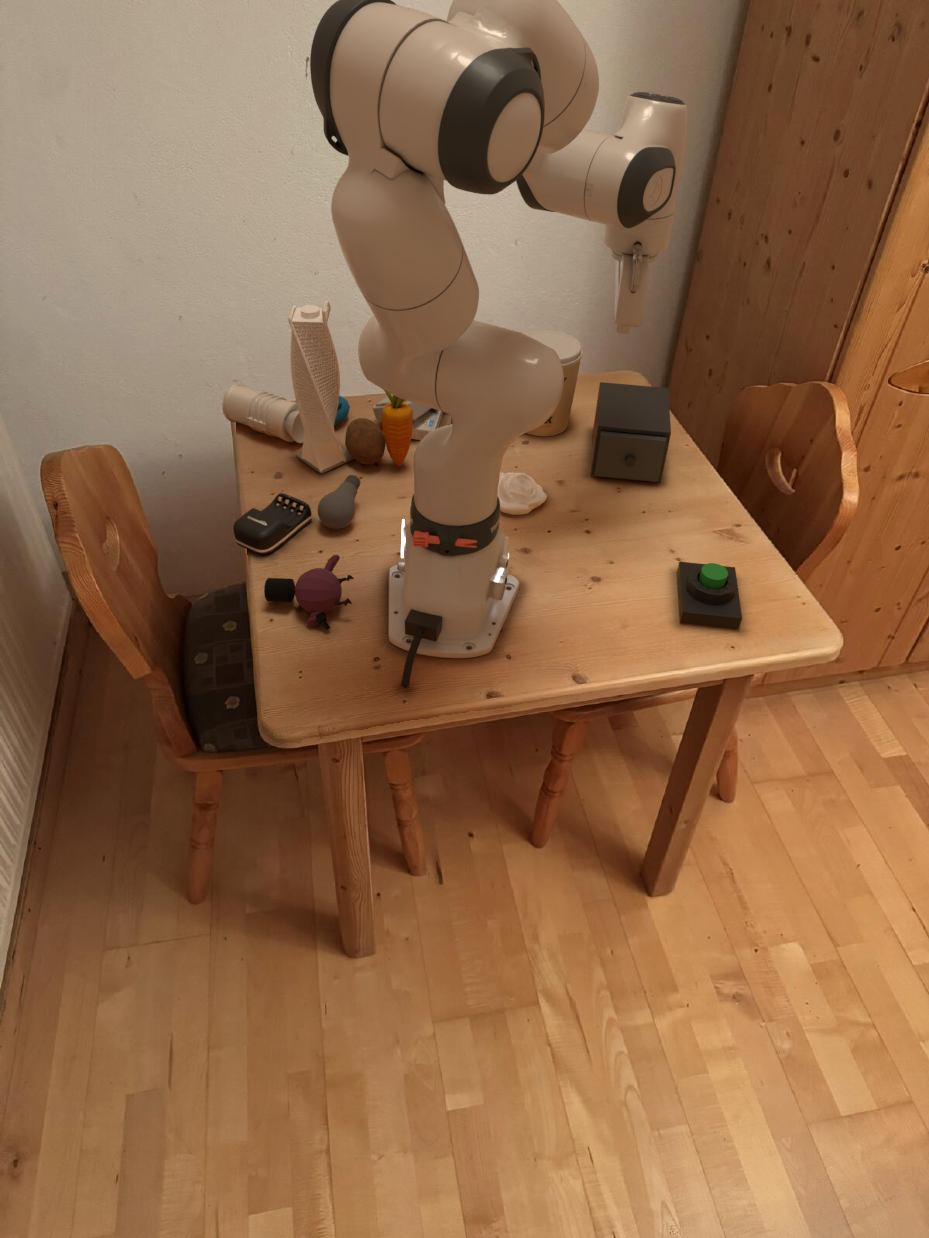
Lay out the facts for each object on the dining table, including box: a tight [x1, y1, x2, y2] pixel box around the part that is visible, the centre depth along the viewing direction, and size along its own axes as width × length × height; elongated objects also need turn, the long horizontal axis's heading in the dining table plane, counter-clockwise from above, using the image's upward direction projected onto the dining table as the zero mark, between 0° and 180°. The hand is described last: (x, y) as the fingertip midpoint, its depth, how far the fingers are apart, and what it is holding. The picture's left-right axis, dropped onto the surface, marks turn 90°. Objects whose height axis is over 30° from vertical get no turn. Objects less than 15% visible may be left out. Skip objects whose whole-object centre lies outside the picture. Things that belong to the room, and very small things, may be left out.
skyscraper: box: [287, 299, 356, 475], centre depth 140 cm, size 8×8×28 cm
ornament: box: [334, 395, 351, 427], centre depth 158 cm, size 8×5×10 cm
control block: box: [676, 561, 743, 631], centre depth 125 cm, size 11×8×4 cm
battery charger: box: [232, 492, 313, 556], centre depth 134 cm, size 7×4×11 cm
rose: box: [498, 471, 548, 516], centre depth 141 cm, size 10×4×10 cm
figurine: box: [263, 554, 355, 631], centre depth 121 cm, size 8×8×12 cm
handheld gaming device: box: [372, 394, 431, 423], centre depth 158 cm, size 9×15×4 cm, turn 153°
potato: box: [344, 417, 386, 465], centre depth 148 cm, size 7×10×6 cm
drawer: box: [594, 430, 666, 483], centre depth 148 cm, size 15×10×8 cm
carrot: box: [381, 390, 413, 467], centre depth 144 cm, size 5×5×15 cm
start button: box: [699, 562, 728, 589], centre depth 123 cm, size 4×4×2 cm
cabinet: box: [590, 381, 672, 484], centre depth 150 cm, size 15×12×10 cm
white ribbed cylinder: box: [221, 383, 305, 444], centre depth 154 cm, size 7×7×15 cm
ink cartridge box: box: [381, 408, 445, 441], centre depth 158 cm, size 2×11×10 cm
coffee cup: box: [524, 329, 584, 437], centre depth 155 cm, size 12×12×15 cm
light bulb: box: [317, 474, 362, 530], centre depth 136 cm, size 6×6×10 cm
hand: (622, 329), depth 128 cm, fingers closed
